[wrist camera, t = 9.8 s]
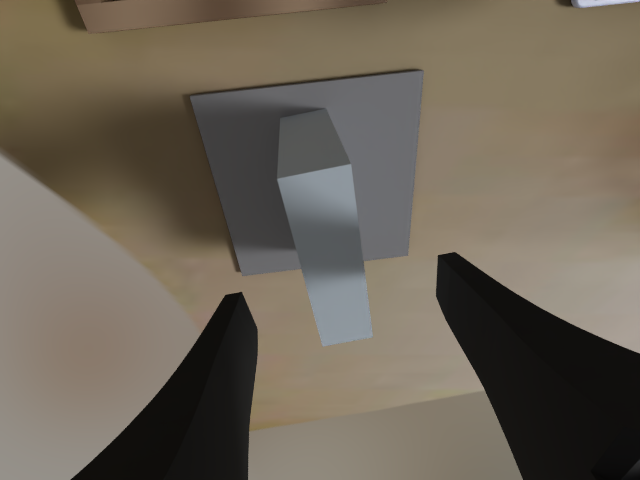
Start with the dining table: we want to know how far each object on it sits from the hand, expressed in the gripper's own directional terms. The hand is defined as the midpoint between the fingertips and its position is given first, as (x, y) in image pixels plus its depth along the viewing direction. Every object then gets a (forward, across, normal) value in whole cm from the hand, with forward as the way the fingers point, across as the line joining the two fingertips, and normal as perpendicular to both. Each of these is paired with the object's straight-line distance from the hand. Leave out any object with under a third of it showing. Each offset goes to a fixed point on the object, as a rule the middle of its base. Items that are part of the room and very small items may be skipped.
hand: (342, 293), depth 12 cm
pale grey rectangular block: (+10, 0, 0) cm, 10 cm away
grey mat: (+10, 0, 0) cm, 10 cm away
